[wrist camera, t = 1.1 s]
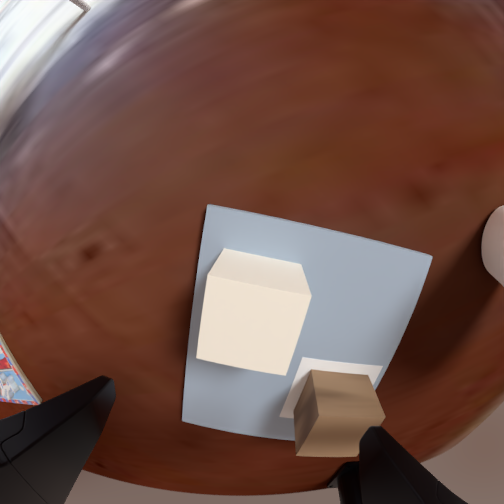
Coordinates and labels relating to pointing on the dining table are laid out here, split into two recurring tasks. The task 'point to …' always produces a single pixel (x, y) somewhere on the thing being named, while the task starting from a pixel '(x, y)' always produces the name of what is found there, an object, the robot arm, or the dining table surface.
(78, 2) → the lollipop
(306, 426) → the walnut block
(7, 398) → the puzzle board
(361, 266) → the mat
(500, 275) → the cup
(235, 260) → the cream block
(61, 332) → the dining table surface
